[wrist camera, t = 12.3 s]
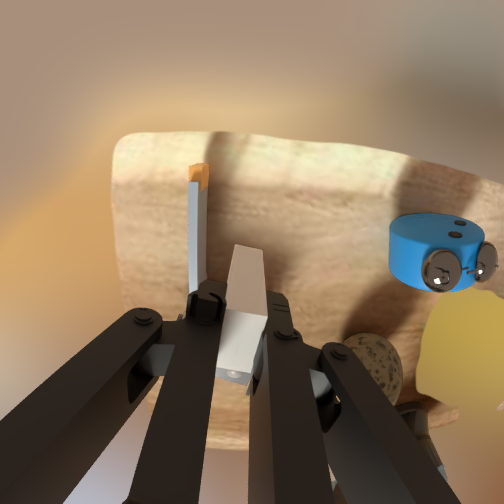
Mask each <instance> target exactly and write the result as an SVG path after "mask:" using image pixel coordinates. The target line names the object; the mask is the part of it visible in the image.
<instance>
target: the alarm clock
mask: <svg viewBox="0 0 504 504" xmlns="http://www.w3.org/2000/svg"><path fill="white" fill-rule="evenodd" d="M484 239H485V234H484V232H483V230H482V229H481V228H480V227H479V226H478V225H477V224H475V223H473V222H471V221H469V220H466V219H463V218H460V217H456V216H451V215H446V214H436V213H418V214H409V215H405V216H401V217H399V218H397V219H395V220H393V221H392V222H391V224H390V231H389V269H390V271H391V273H392V274H393V275H394V276H395V277H396V278H397V279H398V280H400V281H401V282H403V283H405V284H407V285H409V286H412V287H414V288H418V289H421V290H426V291H432V292H438V293H444V292H453V291H459V290H463V289H466V288H468V287H470V286H471V285H473V284H474V283H475V282H480V283H482V282H486V281H488V280H489V279H490V278H491V277H492V276H493V274H494V273H495V270H496V268H498V265H497V263H498V255H497V251H496V248H495V247H494V245H493V244H492V243H491V242H488V241H484Z"/></svg>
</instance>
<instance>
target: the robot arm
mask: <svg viewBox="0 0 504 504" xmlns="http://www.w3.org/2000/svg"><path fill="white" fill-rule="evenodd" d="M216 367H219V368H224V369H230V370H235V371H241V372H247V373H251V370H252V367H253V375H252V378H251V381H250V384H249V387H248V390H247V393H246V395H249V393H250V417H249V475H248V504H461V503H460V501H459V500H458V498H457V497H456V495H455V494H454V492H453V491H452V489H451V488H450V486H449V485H448V483H447V476H446V472H445V469H444V465H443V464H442V462H441V460H440V457H439V455H438V453H437V451H436V449H435V447H434V444H433V442H432V440H431V438H430V436H429V431H428V418H427V412H426V410H425V408H424V406H423V405H422V404H420V403H417V402H411V403H405V404H402V405H399V406H396V407H394V406H393V405H392V403H391V402H390V401H389V399H388V398H387V396H386V395H385V394H384V392H383V391H382V389H381V388H380V387H379V385H378V384H377V383H376V381H375V380H374V378H373V377H372V376H371V374H370V373H369V372H368V370H367V369H366V368H365V366H364V365H363V363H362V362H361V361H360V359H359V358H358V357H357V355H356V354H355V353H354V352H353V351H352V350H351V349H350V348H349V347H347V346H346V345H344V344H341V343H336V342H330V343H326V344H325V345H324V346H323V347H322V350H321V349H318V348H315V347H312V346H309V345H307V344H305V343H304V342H303V339H302V336H301V334H300V333H299V332H298V331H297V330H296V329H294V328H293V323H292V318H291V313H290V308H289V303H288V300H287V299H286V297H285V296H284V295H283V294H281V293H276V292H271V291H266V288H265V275H264V263H263V251H262V250H261V249H256V248H251V247H247V246H242V245H237V244H235V247H234V252H233V256H232V261H231V266H230V270H229V275H228V280H227V284H226V283H221V282H217V281H212V280H207V279H206V280H204V281H203V282H201V283H200V284H199V287H198V290H196V291H193V292H191V293H190V294H189V295H188V300H187V307H186V315H185V318H183V319H181V320H177V321H163V320H162V316H161V315H160V314H159V313H158V312H156V311H154V310H152V309H149V308H134V309H131V310H129V311H128V312H126V313H125V314H124V315H123V316H121V317H120V318H119V319H118V320H117V321H115V322H114V323H113V324H112V325H110V326H109V327H108V328H107V329H106V330H104V331H103V332H102V333H101V334H100V335H98V336H97V337H96V338H95V339H94V340H92V341H91V342H90V343H89V344H88V345H86V346H85V347H84V348H83V349H82V350H80V351H79V352H78V353H77V354H76V355H75V356H73V357H72V358H71V359H70V360H69V361H67V362H66V363H65V364H64V365H63V366H62V367H60V368H59V369H58V370H57V371H56V372H55V373H53V374H52V375H51V376H50V377H49V378H48V379H46V380H45V381H44V382H43V383H42V384H41V385H40V386H39V387H37V388H36V389H35V390H34V391H33V392H32V393H31V394H29V395H28V396H27V397H26V398H25V399H24V400H23V401H22V402H20V403H19V404H18V405H17V406H16V407H15V408H14V409H13V410H12V411H11V412H10V413H8V414H7V415H6V416H5V417H4V418H3V419H2V420H1V421H0V504H63V502H64V501H65V500H66V498H67V497H68V496H69V495H70V493H71V492H72V491H73V489H74V488H75V487H76V486H77V484H78V483H79V482H80V480H81V479H82V478H83V477H84V475H85V474H86V473H87V471H88V470H89V469H90V468H91V466H92V465H93V464H94V462H95V461H96V460H97V458H98V457H99V456H100V455H101V453H102V452H103V451H104V449H105V448H106V447H107V446H108V444H109V443H110V442H111V440H112V439H113V438H114V436H115V435H116V434H117V432H118V431H119V430H120V429H121V427H122V426H123V425H124V423H125V422H126V421H127V420H128V418H129V417H130V415H131V414H132V413H133V412H134V410H135V409H136V408H137V406H138V405H139V404H140V403H141V401H142V400H143V399H144V397H145V396H146V395H147V394H148V392H149V391H150V390H151V388H152V387H153V386H154V384H155V383H156V382H157V381H158V379H159V376H164V379H163V383H162V386H161V389H160V392H159V395H158V398H157V401H156V404H155V407H154V410H153V414H152V417H151V420H150V423H149V427H148V430H147V433H146V437H145V440H144V443H143V446H142V450H141V453H140V457H139V460H138V464H137V467H136V471H135V474H134V478H133V482H132V485H131V489H130V492H129V496H128V497H127V499H126V500H125V501H124V502H123V503H122V504H198V501H199V492H200V485H201V476H202V469H203V460H204V452H205V445H206V438H207V430H208V423H209V415H210V408H211V401H212V394H213V387H214V380H215V373H216ZM336 396H338V398H339V400H340V402H339V401H338V400H337V398H336ZM328 464H329V466H330V468H331V470H332V472H333V474H334V477H335V479H336V481H333V482H331V478H330V472H329V467H328Z"/></svg>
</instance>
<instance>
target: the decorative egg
mask: <svg viewBox="0 0 504 504" xmlns="http://www.w3.org/2000/svg"><path fill="white" fill-rule="evenodd" d="M342 344H344V345H346V346H347V347H349V348H350V349H351V350H352V351H353V352H354V353H355V354H356V355H357V357H358V358H359V359H360V361H361V362H362V363H363V365H364V366H365V368H366V369H367V370H368V372H369V373H370V374H371V376H372V377H373V378H374V380H375V381H376V383H377V384H378V385H379V387H380V388H381V389H382V391H383V392H384V394H385V395H386V396H387V398H388V399H389V401H390V402H391V403H392V405H393V406H394V405H395V403H396V401H397V399H398V397H399V395H400V392H401V388H402V381H403V370H402V364H401V360H400V357H399V355H398V353H397V351H396V349H395V348H394V346H393V345H392V344H391V343H390V342H389V341H388V340H387V339H385V338H384V337H382V336H380V335H377V334H374V333H359V334H356V335H353V336H351V337H349V338H348V339H346V340H345V341H344V342H343V343H342Z"/></svg>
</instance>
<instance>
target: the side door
mask: <svg viewBox="0 0 504 504" xmlns="http://www.w3.org/2000/svg"><path fill="white" fill-rule="evenodd" d="M208 181H209V164H204V163H197V164H195V165H192V166H189V188H188V271H189V294H190V293H191V292H193V291H196V290H198V287H199V284H200V283H201V282H203V281H204V280H206V279H208V276H207V274H206V236H207V196H208Z"/></svg>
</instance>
